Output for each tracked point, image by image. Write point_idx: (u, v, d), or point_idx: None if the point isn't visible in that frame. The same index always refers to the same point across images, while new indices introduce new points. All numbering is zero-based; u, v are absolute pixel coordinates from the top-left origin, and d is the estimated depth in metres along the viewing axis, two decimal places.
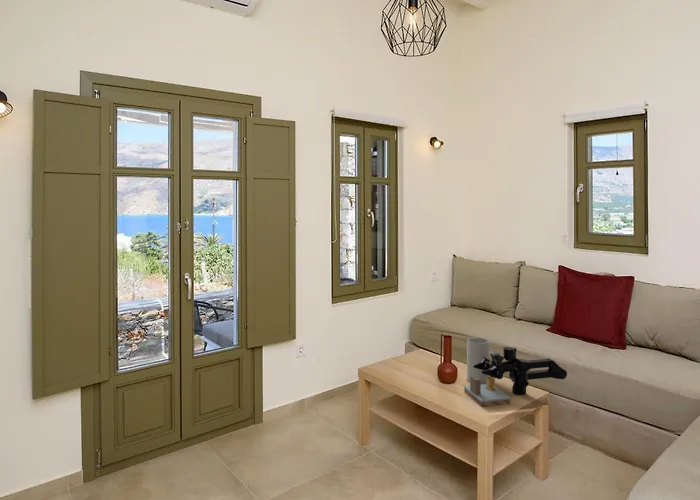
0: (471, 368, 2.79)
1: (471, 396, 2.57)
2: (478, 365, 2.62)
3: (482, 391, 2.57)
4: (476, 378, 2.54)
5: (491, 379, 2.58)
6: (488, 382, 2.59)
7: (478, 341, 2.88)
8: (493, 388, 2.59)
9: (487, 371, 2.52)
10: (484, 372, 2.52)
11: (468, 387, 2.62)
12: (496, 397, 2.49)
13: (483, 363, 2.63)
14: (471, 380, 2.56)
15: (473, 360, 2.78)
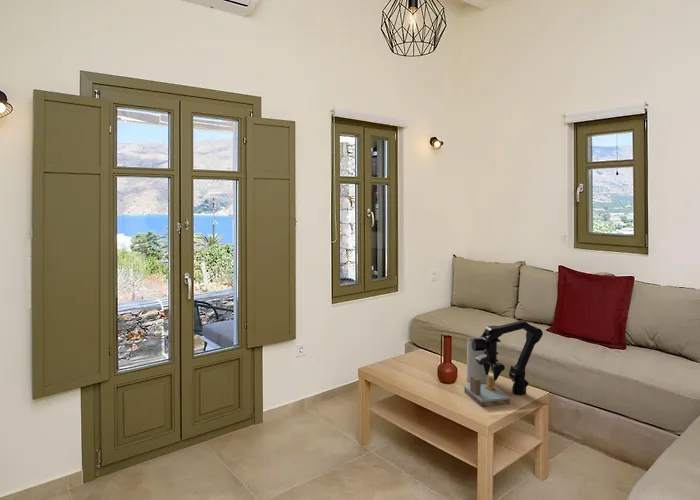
0: (471, 368, 2.79)
1: (471, 396, 2.57)
2: (486, 369, 2.64)
3: (482, 391, 2.57)
4: (476, 378, 2.54)
5: (491, 379, 2.58)
6: (488, 382, 2.59)
7: None
8: (493, 388, 2.59)
9: (495, 376, 2.54)
10: (495, 378, 2.55)
11: (468, 387, 2.62)
12: (496, 397, 2.49)
13: (484, 364, 2.64)
14: (471, 380, 2.56)
15: (473, 360, 2.78)
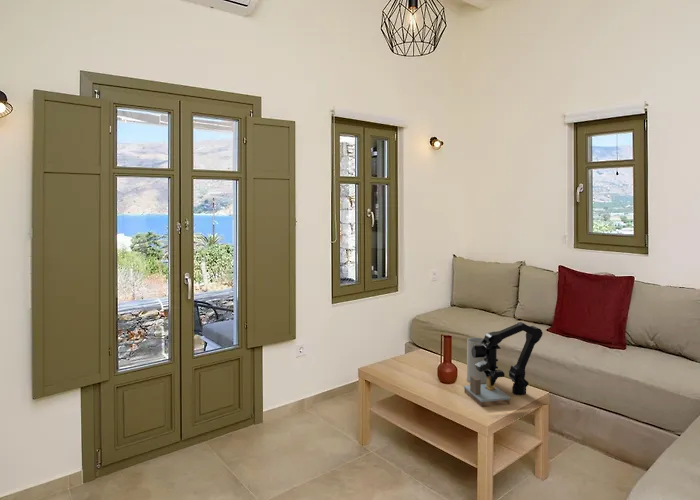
0: (471, 368, 2.79)
1: (471, 396, 2.57)
2: None
3: (482, 391, 2.57)
4: (476, 378, 2.54)
5: None
6: (488, 382, 2.59)
7: (478, 341, 2.88)
8: (493, 388, 2.59)
9: (492, 381, 2.57)
10: (492, 383, 2.58)
11: (468, 387, 2.62)
12: (496, 397, 2.49)
13: (487, 372, 2.62)
14: (471, 380, 2.56)
15: (473, 360, 2.78)
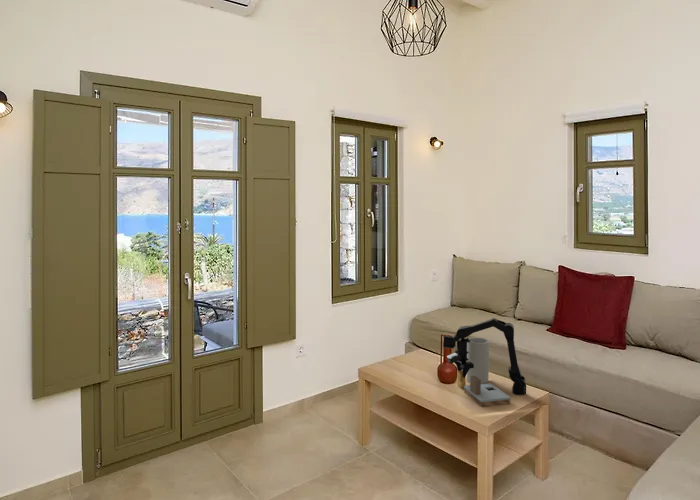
0: (471, 368, 2.79)
1: (471, 396, 2.57)
2: (459, 369, 2.75)
3: (482, 391, 2.57)
4: (476, 378, 2.54)
5: None
6: (459, 376, 2.72)
7: (478, 341, 2.88)
8: (464, 382, 2.72)
9: (464, 373, 2.68)
10: (464, 375, 2.69)
11: (468, 387, 2.62)
12: (496, 397, 2.49)
13: (457, 363, 2.75)
14: (471, 380, 2.56)
15: (473, 360, 2.78)
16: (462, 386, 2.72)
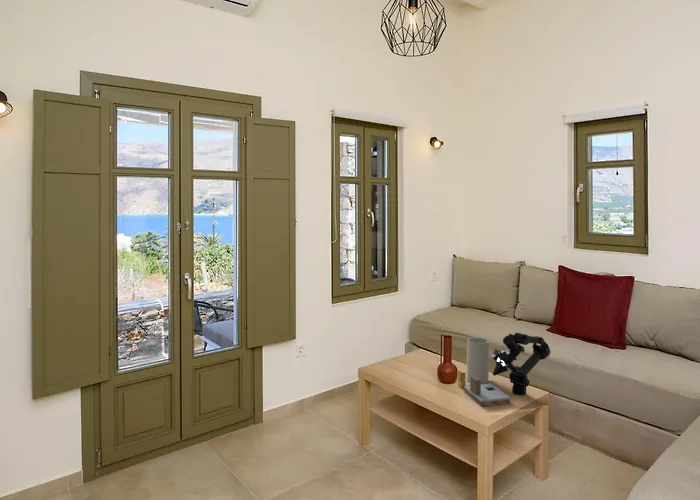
0: (471, 368, 2.79)
1: (471, 396, 2.57)
2: None
3: (482, 391, 2.57)
4: (476, 378, 2.54)
5: (462, 373, 2.71)
6: (459, 376, 2.72)
7: (478, 341, 2.88)
8: (464, 382, 2.72)
9: (497, 371, 2.56)
10: (495, 373, 2.56)
11: (468, 387, 2.62)
12: (496, 397, 2.49)
13: None
14: (471, 380, 2.56)
15: (473, 360, 2.78)
16: (462, 386, 2.72)
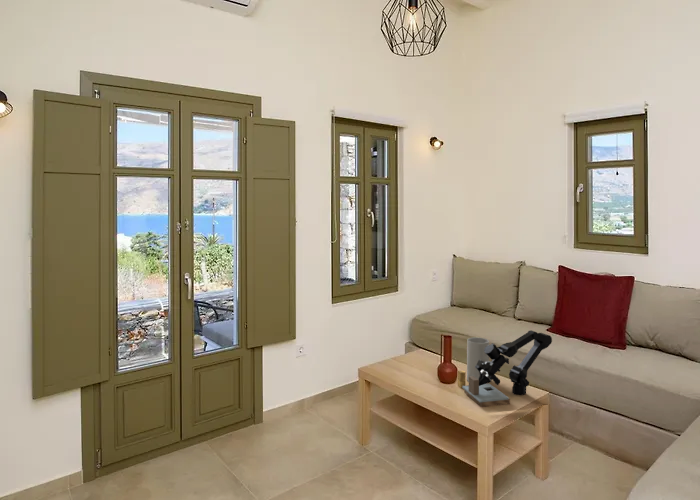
0: (471, 368, 2.79)
1: (471, 396, 2.57)
2: None
3: (480, 391, 2.56)
4: (474, 378, 2.54)
5: (462, 373, 2.71)
6: (459, 376, 2.72)
7: (478, 341, 2.88)
8: (464, 382, 2.72)
9: (480, 382, 2.54)
10: (479, 384, 2.55)
11: (466, 387, 2.62)
12: (495, 397, 2.49)
13: None
14: (469, 380, 2.56)
15: (473, 360, 2.78)
16: None
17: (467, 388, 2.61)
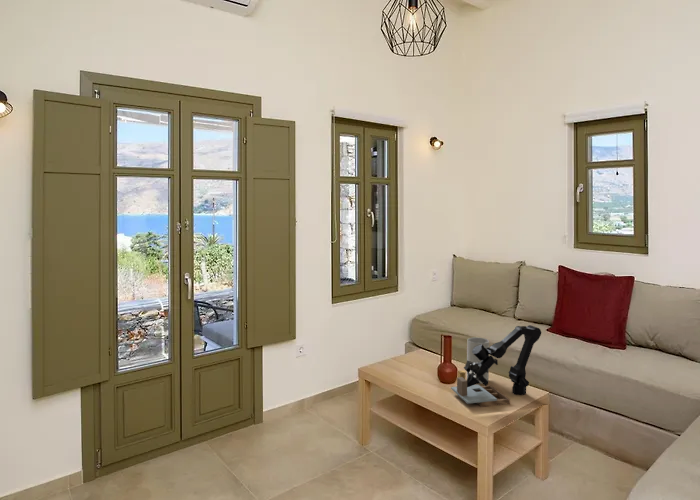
0: None
1: None
2: None
3: (469, 392, 2.55)
4: (463, 379, 2.52)
5: (462, 373, 2.71)
6: (459, 376, 2.72)
7: (478, 341, 2.88)
8: None
9: (469, 383, 2.53)
10: (467, 385, 2.53)
11: (455, 388, 2.61)
12: (483, 398, 2.47)
13: None
14: (458, 381, 2.54)
15: (473, 360, 2.78)
16: None
17: (456, 389, 2.60)
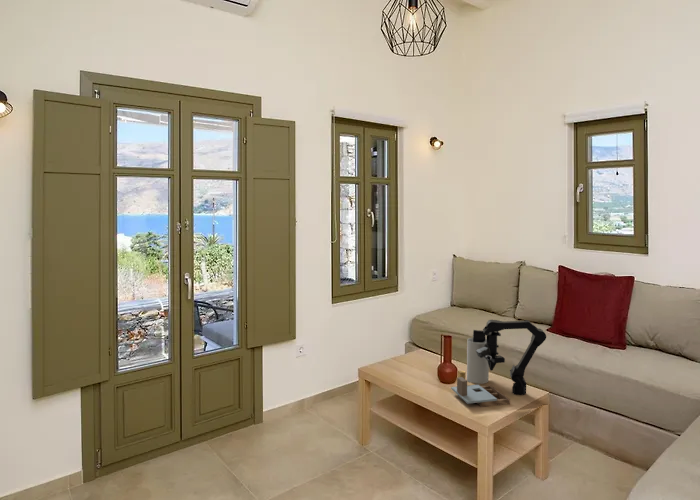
0: (471, 368, 2.79)
1: None
2: None
3: (469, 392, 2.55)
4: (463, 379, 2.52)
5: (462, 373, 2.71)
6: (459, 376, 2.72)
7: None
8: None
9: (491, 366, 2.64)
10: (492, 368, 2.64)
11: (455, 388, 2.61)
12: (483, 398, 2.47)
13: None
14: (458, 381, 2.54)
15: (473, 360, 2.78)
16: None
17: (456, 389, 2.60)
